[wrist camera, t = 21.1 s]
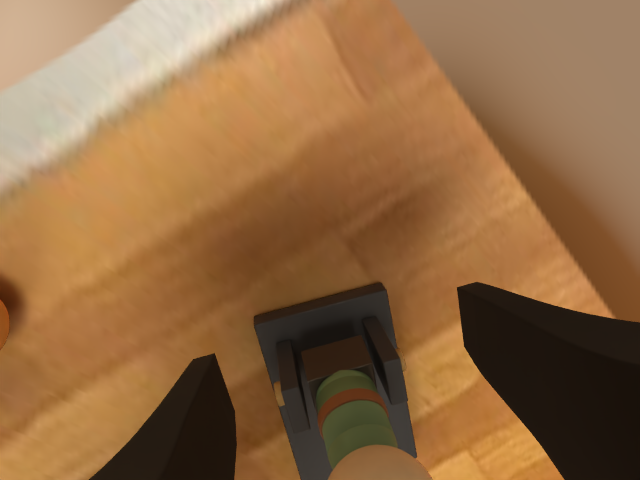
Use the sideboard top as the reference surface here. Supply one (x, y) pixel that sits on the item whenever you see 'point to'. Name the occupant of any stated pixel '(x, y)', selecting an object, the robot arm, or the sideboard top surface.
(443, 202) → the sideboard top surface
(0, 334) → the figurine
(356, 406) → the peg doll
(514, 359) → the robot arm
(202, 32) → the sideboard top surface
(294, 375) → the toy stand
